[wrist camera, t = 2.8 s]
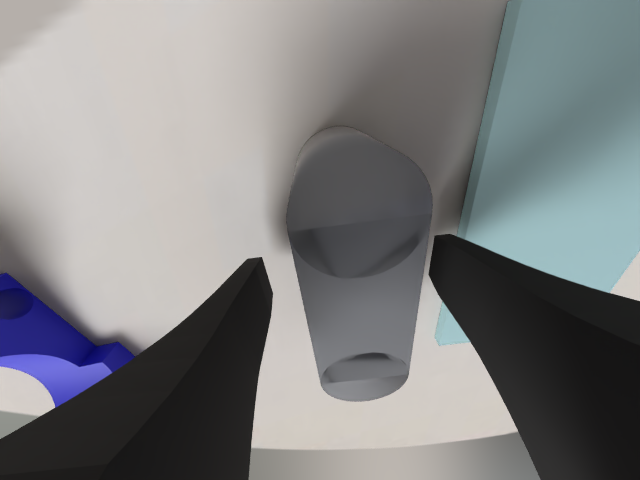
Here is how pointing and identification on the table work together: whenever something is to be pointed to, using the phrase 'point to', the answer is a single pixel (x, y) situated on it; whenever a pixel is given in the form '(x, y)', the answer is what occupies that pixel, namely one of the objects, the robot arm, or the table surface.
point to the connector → (359, 258)
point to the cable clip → (51, 345)
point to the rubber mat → (559, 145)
